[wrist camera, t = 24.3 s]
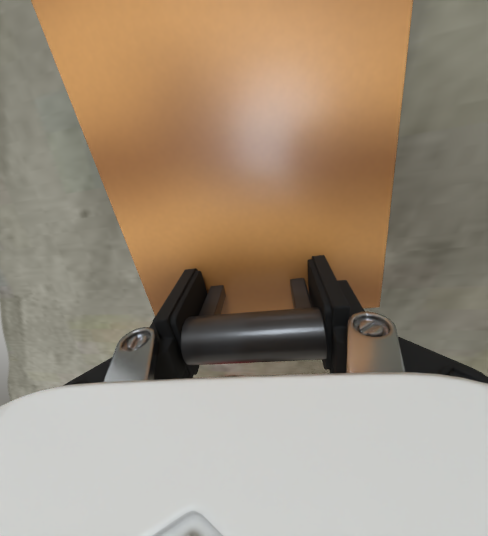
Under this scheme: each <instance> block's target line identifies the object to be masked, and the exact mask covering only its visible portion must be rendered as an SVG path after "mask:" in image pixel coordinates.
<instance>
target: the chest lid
mask: <svg viewBox="0 0 488 536" xmlns="http://www.w3.org/2000/svg"><path fill="white" fill-rule="evenodd" d="M31 1H32V4H33V6H34V9H35V12H36V14H37V17H38V19H39V22H40V24H41V27H42V29H43V32H44V34H45V37H46V39H47V42H48V45H49V47H50V50H51V52H52V55H53V57H54V60H55V62H56V65H57V67H58V70H59V73H60V75H61V78H62V80H63V83H64V85H65V88H66V90H67V93H68V95H69V98H70V100H71V103H72V106H73V108H74V111H75V113H76V116H77V118H78V121H79V123H80V126H81V128H82V131H83V134H84V136H85V139H86V141H87V144H88V146H89V149H90V151H91V154H92V156H93V159H94V161H95V164H96V167H97V169H98V172H99V174H100V177H101V179H102V182H103V184H104V187H105V189H106V192H107V195H108V197H109V200H110V202H111V205H112V207H113V210H114V212H115V215H116V217H117V220H118V222H119V225H120V228H121V230H122V233H123V235H124V238H125V240H126V243H127V245H128V248H129V250H130V253H131V256H132V258H133V261H134V263H135V266H136V268H137V271H138V273H139V276H140V278H141V281H142V283H143V286H144V289H145V291H146V294H147V296H148V299H149V301H150V304H151V306H152V309H153V311H154V314H155V316H156V315H157V313H158V312H159V310H160V308H161V307H162V305H163V304H164V302H165V300H166V299H167V297H168V296H169V294H170V293H171V291H172V289H173V288H174V286H175V285H176V283H177V281H178V280H179V278H180V277H181V275H182V273H183V272H184V270H185V269H195V268H196V269H197V270H198V271H201V272H202V275H203V279H204V283H205V286H206V290H207V297H206V299H205V301H204V304H203V306H202V309H201V311H200V314H199V316H191V317H188V318H187V319H186V320H185V322H184V324H183V327H182V331H181V352H182V356H183V359H184V361H185V363H186V364H188V365H205V364H228V363H251V362H274V361H297V360H320V359H326V358H327V355H328V344H327V334H326V328H325V323H324V319H323V315H322V312H321V310H320V308H319V307H312V304H311V300H310V297H309V288H308V264H307V261H308V259H312V256H318V255H324V256H325V257H326V259H327V261H328V263H329V265H330V267H331V269H332V271H333V273H334V275H335V277H336V279H337V281H338V280H347V282H348V283H349V285H350V287H351V288H352V290H353V292H354V294H355V295H356V297H357V299H358V301H359V302H360V304H361V306H362V308H375V307H380V298H381V289H382V280H383V271H384V262H385V252H386V243H387V234H388V225H389V216H390V207H391V198H392V188H393V179H394V170H395V161H396V152H397V143H398V134H399V124H400V115H401V106H402V97H403V88H404V79H405V69H406V60H407V51H408V42H409V33H410V24H411V15H412V5H413V0H31Z"/></svg>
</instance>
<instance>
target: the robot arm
mask: <svg viewBox="0 0 488 536" xmlns="http://www.w3.org/2000/svg"><path fill="white" fill-rule="evenodd" d="M307 264H308V288H309V297H310V300H311V304H312V307H319V308H320V310H321V312H322V315H323V319H324V323H325V328H326V334H327V344H328V355H327V358H326V359H322V361H323V365H324V368H325V369H330V374H298V375H266V376H238V377H211V378H193V375H195V374H197V372H198V368H199V365H188V364H186V363H185V361H184V359H183V356H182V352H181V331H182V327H183V324H184V322H185V320H186V319H187V318H188V317H191V316H199V314H200V311H201V309H202V306H203V304H204V301H205V299H206V297H207V290H206V286H205V283H204V279H203V275H202V272H201V271H198V270H197V269H196V268H195V269H185V270H184V272H183V273H182V275H181V277H180V278H179V280H178V281H177V283H176V285H175V286H174V288H173V289H172V291H171V293H170V294H169V296H168V297H167V299H166V300H165V302H164V304H163V305H162V307H161V308H160V310H159V312H158V313H157V315H156V316H155V318H154V320H153V323H152V324H151V326H150V327H149V328H148V327H143V328H138V329H135V330H133V331H131V332H129V333H128V334H126V335H125V336H123V337H122V339H121V340H120V341H119V342H118V344H117V346H116V349H115V352H114V354H113V357H112V358H110V359H108V360H107V361H105V362H103V363H101V364H100V365H98V366H96V367H94V368H93V369H91V370H89V371H87V372H86V373H84V374H82V375H80V376H79V377H77V378H75V379H73V380H72V381H70V382H68V383H67V384H65V385H63V386H59V387H53V388H49V389H45V390H41V391H37V392H34V393H31V394H28V395H26V396H23V397H20V398H17V399H15V400H13V401H11V402H8V403H6V404H5V405H2V406H1V407H0V536H488V377H487V376H485V375H484V374H482V373H481V372H479V371H477V370H475V369H473V368H471V367H469V366H466V365H464V364H462V363H459V362H457V361H454V360H452V359H450V358H447V357H445V356H443V355H440V354H438V353H435V352H433V351H431V350H428V349H426V348H424V347H421V346H419V345H417V344H414V343H412V342H409V341H407V340H405V339H402V338H400V337H398V335H397V330H396V327H395V325H394V323H393V322H392V321H391V320H390V319H388V318H387V317H385V316H383V315H381V314H378V313H373V312H365V311H364V309H363V308H362V306H361V304H360V302H359V301H358V299H357V297H356V295H355V294H354V292H353V290H352V288H351V287H350V285H349V283H348V282H347V280H338V281H337V279H336V277H335V275H334V273H333V271H332V269H331V267H330V265H329V263H328V261H327V259H326V257H325V256H324V255H318V256H312V259H308V261H307Z"/></svg>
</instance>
